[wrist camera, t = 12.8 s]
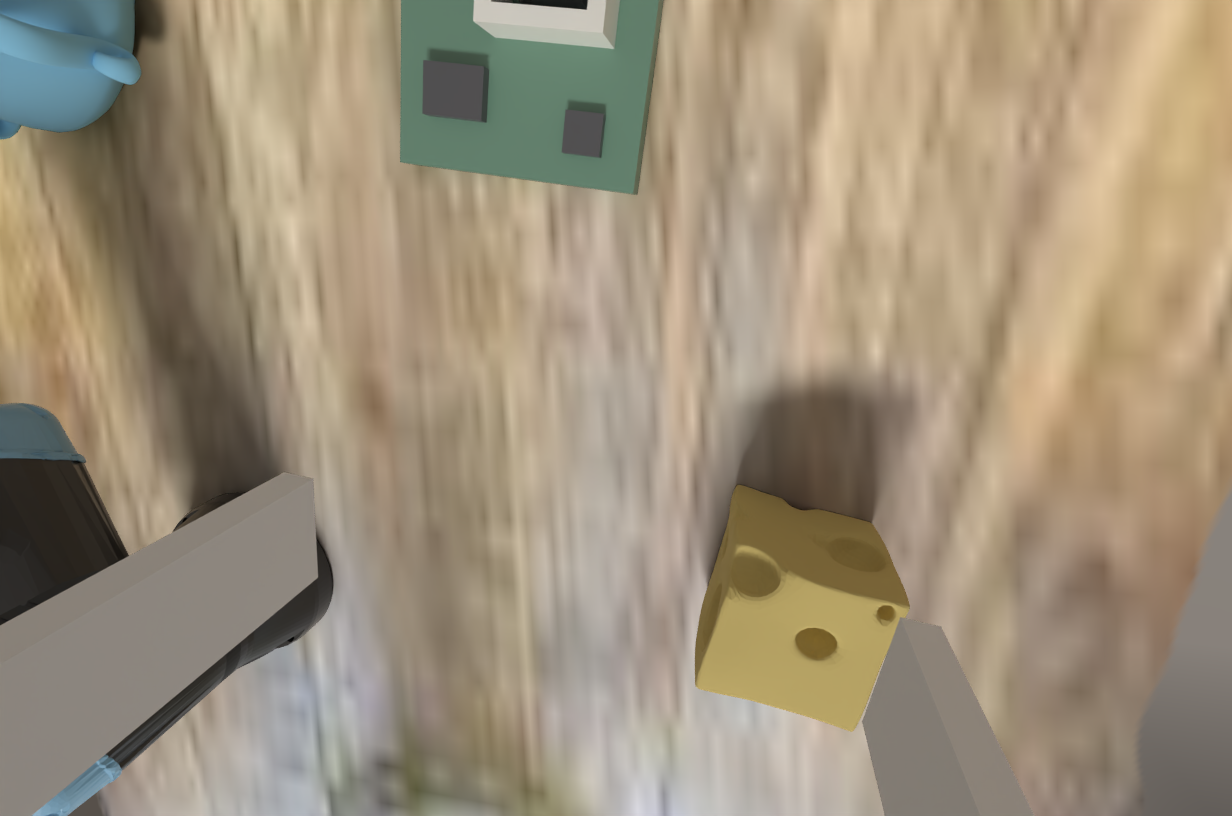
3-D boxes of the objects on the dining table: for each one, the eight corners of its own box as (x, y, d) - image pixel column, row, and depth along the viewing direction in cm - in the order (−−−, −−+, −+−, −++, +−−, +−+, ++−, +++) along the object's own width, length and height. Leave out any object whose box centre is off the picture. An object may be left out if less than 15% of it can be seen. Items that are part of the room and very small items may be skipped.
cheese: (734, 479, 42) (731, 552, 32) (884, 520, 40) (927, 608, 31) (699, 594, 45) (688, 690, 36) (836, 635, 44) (861, 746, 35)
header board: (412, 164, 40) (373, 157, 35) (416, -164, 34) (370, -220, 29) (637, 194, 37) (623, 191, 33) (684, -154, 31) (675, -213, 27)
